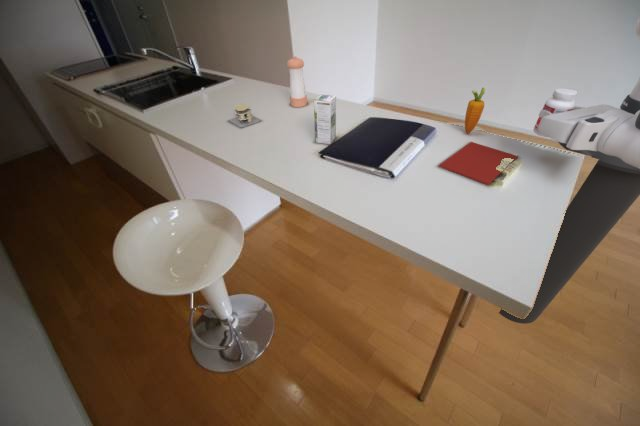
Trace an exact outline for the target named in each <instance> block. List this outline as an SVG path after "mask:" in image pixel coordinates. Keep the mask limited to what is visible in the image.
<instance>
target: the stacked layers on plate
mask: <svg viewBox="0 0 640 426" xmlns="http://www.w3.org/2000/svg"><path fill="white" fill-rule="evenodd" d="M233 108H234V112H235V113H236V114H235V116H236V118H234V119H231V120H229V123H232V124H233V125H235V126H237V127H239V128H241V129H242V128H245V127H248V126H251V125H254V124H256V123H260V122H261V120H260V119H257V118H256V117H254V116H253V114H252V113H251V112H252V109H251V106H250V105H248V104H244V103H240V104H237V105H234V106H233Z"/></svg>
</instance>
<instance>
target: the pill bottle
mask: <svg viewBox="0 0 640 426" xmlns="http://www.w3.org/2000/svg"><path fill="white" fill-rule="evenodd" d="M577 95H578V91H576V90H575V89H570V88H561V87H560V88H555V89H554V90H553V93H552V97H550V98H548V99H547V100H546V101H545V102H544V105H543V107H542V109H541V110H545V109H548V110H550V111H551V113H552V114H554V113H555V114H556V113H561V112H566V111H571V110H573V109H574V107H575V106H576V103H575V101H574V100H575V99H576V98H577ZM541 119H542V118H541V117H539V116H538V118H537V120H536V123H535V124H534V126H533V132H534V133H535V135H538V136H539V137H545V138H548V137H547V136H545V135H543V134H542V133H540V132H539V131H538V126H539V123H540V121H541Z"/></svg>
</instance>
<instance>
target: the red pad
mask: <svg viewBox="0 0 640 426" xmlns="http://www.w3.org/2000/svg"><path fill="white" fill-rule="evenodd" d="M518 157H519V156H518V155H516V154H513V153H509V152H506V151H503V150H499V149H496V148H493V147H489V146H486V145H484V144H480V143H477V142H473V141H470V142H468V143H467V144H466V145H464V146H463V147H462V148H461V149H459V150H458V151H457V152H455V153H454V154H452V155H451V156H450V157H448V158H447V159H445V160H444V161H443V162H441V163H440V164H438V167H439V168H441V169H444V170H446V171H450V172H452V173H455V174H456V175H460V176H463V177H465V178H467V179H470V180H473V181H476V182H477V183H480V184H483V185H486V186H489V185H490V184H491V183H493V181H494V180H495V179H496V178H497V177H499V176H500V174H502V172H500V171H498V170H496V167H497V166H498V165H500V163H501V160H502V159H504V158H511V159H514V161H516V160H517V158H518Z"/></svg>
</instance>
